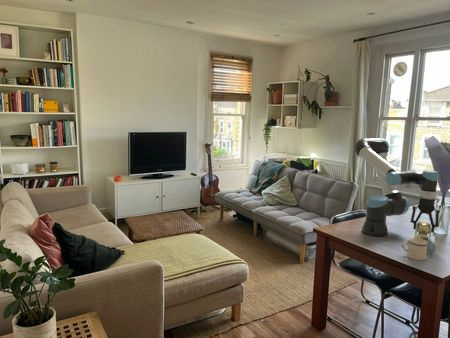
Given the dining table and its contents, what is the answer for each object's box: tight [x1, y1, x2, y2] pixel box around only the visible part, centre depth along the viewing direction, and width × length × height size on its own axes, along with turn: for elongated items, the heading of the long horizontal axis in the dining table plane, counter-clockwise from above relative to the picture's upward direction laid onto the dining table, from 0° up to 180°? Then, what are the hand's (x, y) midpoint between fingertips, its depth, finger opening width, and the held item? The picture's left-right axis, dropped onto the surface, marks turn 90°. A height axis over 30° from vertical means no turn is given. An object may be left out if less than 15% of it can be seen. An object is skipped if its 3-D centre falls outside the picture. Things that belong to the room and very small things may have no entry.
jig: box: [409, 232, 436, 252], centre depth 194 cm, size 12×12×4 cm
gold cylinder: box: [417, 221, 431, 240], centre depth 193 cm, size 6×6×10 cm
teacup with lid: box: [401, 236, 428, 261], centre depth 178 cm, size 12×9×12 cm
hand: (422, 236), depth 194 cm, fingers closed on gold cylinder, 6 cm apart
